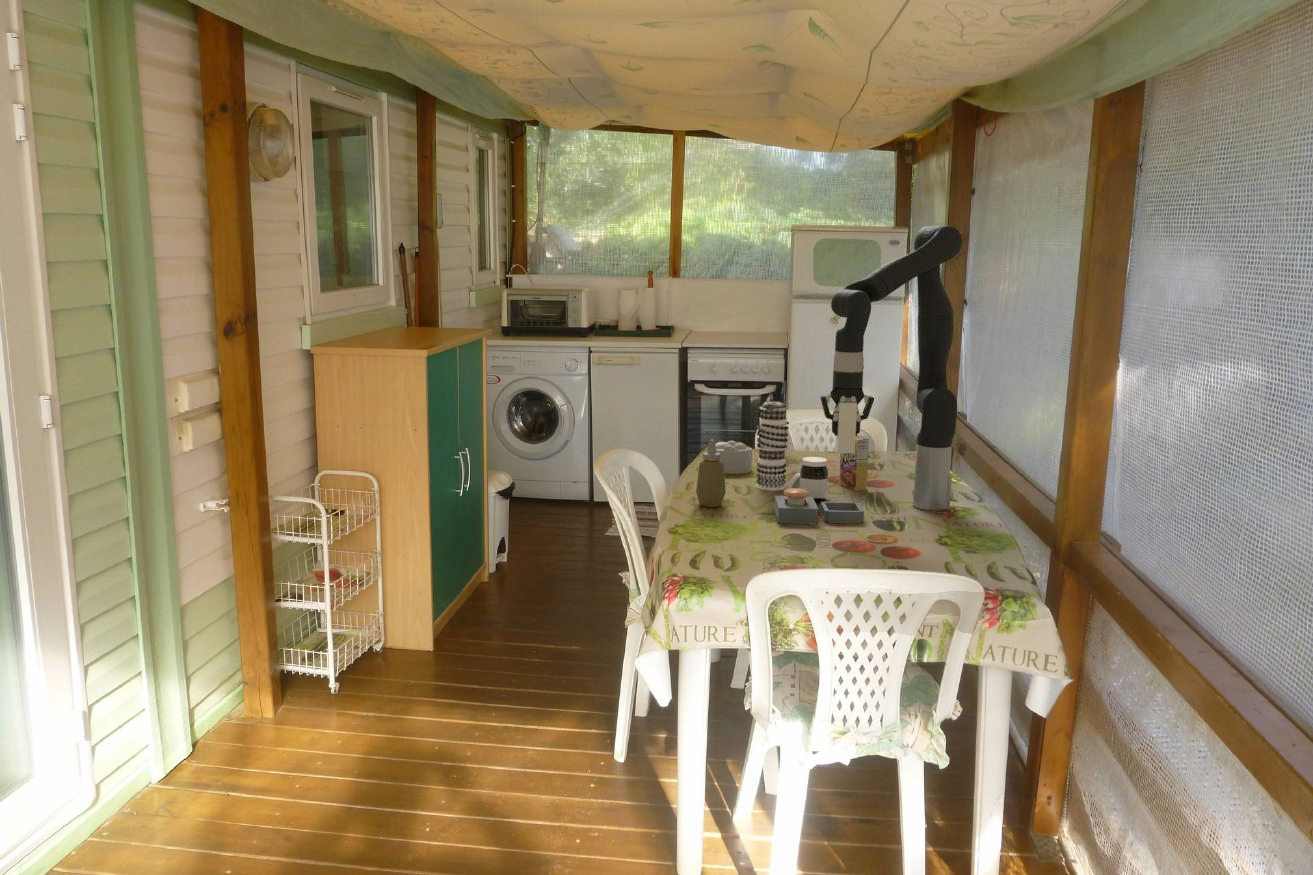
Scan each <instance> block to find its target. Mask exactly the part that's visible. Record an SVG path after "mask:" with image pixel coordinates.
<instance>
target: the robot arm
mask: <svg viewBox="0 0 1313 875" xmlns="http://www.w3.org/2000/svg"><path fill="white" fill-rule="evenodd" d="M913 245H914V247H913V248H914V250H913V251H912V252H910V253H908V254H905V255H903V256H901V257H898V258H896V259H893V260H891V261H889V262H887V263H885V264H883V265H882V266H880V267H878V268H876V269H875V270H874V271H872V272H871V273H870V274H868V275H867V276H866V277H864V278H862V279H859V280H856V281H855V282H852V283H850V284H848V285H846V286H843V287H842V288H840V289H839V290H837V291H836V293H835V294H834V295H833V297H832V299H831V303H830V307H831V310H832V312H833V313H834V314H835V315H836V316H837V317H841V318H845V324H844V327H841V328H838V329H837V330H836V333H835V340H834V341H835V342H834V343H835V344H834V347H835V348H834V355H833V356H834V357H833V368H832V371H833V372H832V390H831V391H830V393H829V394H825V395H823V394H821V395H820V397H819V399H820V402H821V405H822V409H823V414H824V417H825V418H826V419H827V420H831V432H832V434H833V435H834V437H836V436H837V435H838V415H839V403H844V402H845V399H846V398H851V402H852V403H857V415H856V436H858V434H860V433H861V422H862V421H864V420H867V419H869V416H870V412H871V410H872V407H873V405H874V401H875V397H874V396H872V395H867V394H865V392H864V391H863V387H864V386H863V385H864V370H865V368H864V367H865V365H864V363H865V361H864V340H865V339H864V337H865V333H866V330H867V327H868V323H869V320H870V316H871V313H872V303H874V302H875V303H876V302H880V301H882V300H883V299H885V298H887V297H888V296H889V295H890V294H891V293H894V292H895V291H896V290H898V289H900V288H901V287H902V286H903V285H905V284H907V283H908V282H909V281H911V280H913V279H915V278H916V280H917V282H916V283H917V342H918V343H917V344H918V346H917V348H918V350H917V352H918V364H919V365H918V366H919V367H918V368H919V369H918V380H917V389H916V402H915V403H916V406H917V409H918V411H919V413H921V425H920V430H919V432H918V433H917V436H916V449H915V467H914V480H913V481H914V482H913V497H912V506H913V507H915V508H918V509H920V510H926V511H942V510H950V508H951V496H952V495H951V493H952V480H953V478H952V477H953V476H952V474H951V462H952V461H951V460H952V446H953V439H954V437H955V434H956V429H957V428H956V426H957V416H958V400H957V396H956V395H955V393H954V392H953V391H952V390H950V389H949V388H948V383H947V381H948V380H947V364H948V359H949V356H950V351H951V348H952V345H953V339H954V330H955V329H954V325H955V324H954V322H955V321H954V320H955V319H954V318H955V317H954V309H953V306H952V303H951V300H950V298H949V295H948V294H947V292H946V290H945V287H944V284H943V282H942V278H941V265H942V264H943V263H944V264H945V263H946V262H948V261H951V260H953V259H954V258H956V257H957V256H958V255H959V253H960V251H961V249H962V246H963V237H962V234H961V232H960V231H959V230H958V228H956V227H955V226H952V225H948V224H947V225H945V224H941V225H939V224H938V225H926V226H923V227H921V228H920V229H919V230H918V231H917V233H916V235H915V238H914V244H913ZM830 399H832V401H833V402H834V403H835V406H834V408H833V412H832V413H831V412H830V408H829V403H830V402H831V400H830ZM863 399H864V400H863ZM862 401H863V402H864V404H865V405H864V407H863V410H862V413H861V414H860V409H859V407H858V406H859V404H860V403H861V402H862Z"/></svg>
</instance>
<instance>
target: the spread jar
mask: <svg viewBox="0 0 1313 875" xmlns="http://www.w3.org/2000/svg"><path fill="white" fill-rule="evenodd" d="M801 460H802V461H801V464H802V465H801V467H800V471H799V472H797V473H795V474H794V475H793V476H792V477H791V479H790V480H789V482H788V484H787V487H786V489H791V488H797V489H804V490H807V491H809V496H813V499H814V501H815V503H816V504H821V502H827V497H828V482H829V481H828V480H829V471H828V467H827V465H828V459H827V458H824V457H820V456H819V457H818V456H806V457H802V459H801Z"/></svg>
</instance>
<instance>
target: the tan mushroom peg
mask: <svg viewBox="0 0 1313 875" xmlns="http://www.w3.org/2000/svg"><path fill="white" fill-rule="evenodd" d="M783 496H786V497H788V501H787V505H804V501H805V497H808V496H809V491H807V490H804V489H797V488H791V489H787V488H785V489H783Z"/></svg>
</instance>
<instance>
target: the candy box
mask: <svg viewBox="0 0 1313 875" xmlns="http://www.w3.org/2000/svg"><path fill="white" fill-rule="evenodd" d="M869 440H870V439H869V438H866V437H863V436H860V435H857V436H856V437H855V453H839V455H840V457H839V485H841V486H844V487H846V488H849V489H851V490H854V491H856V492H857V491H866V490H867V486H868V467H869V466H868V463H869V442H870V441H869Z"/></svg>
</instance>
